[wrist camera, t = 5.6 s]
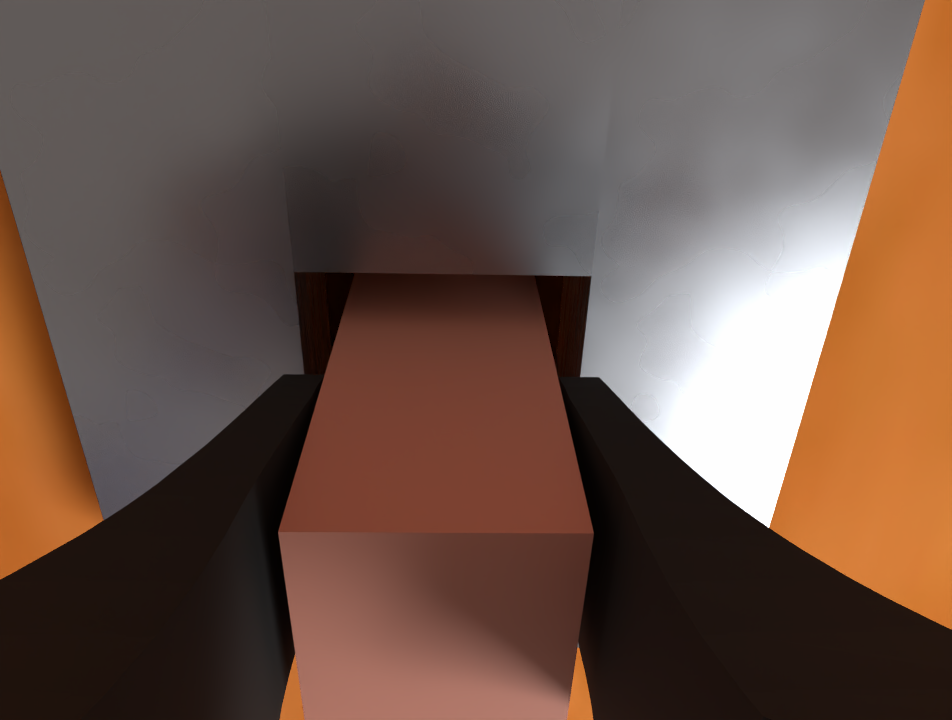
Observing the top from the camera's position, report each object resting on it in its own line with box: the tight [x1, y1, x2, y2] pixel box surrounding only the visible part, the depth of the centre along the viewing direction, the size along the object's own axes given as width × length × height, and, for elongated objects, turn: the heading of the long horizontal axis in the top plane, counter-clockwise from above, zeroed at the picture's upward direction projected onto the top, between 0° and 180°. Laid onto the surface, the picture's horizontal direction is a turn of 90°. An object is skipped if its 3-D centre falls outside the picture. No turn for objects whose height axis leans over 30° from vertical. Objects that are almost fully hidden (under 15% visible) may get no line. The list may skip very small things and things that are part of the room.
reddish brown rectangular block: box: [278, 273, 594, 720], centre depth 11 cm, size 3×3×7 cm
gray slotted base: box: [0, 0, 925, 647], centre depth 13 cm, size 12×12×2 cm
